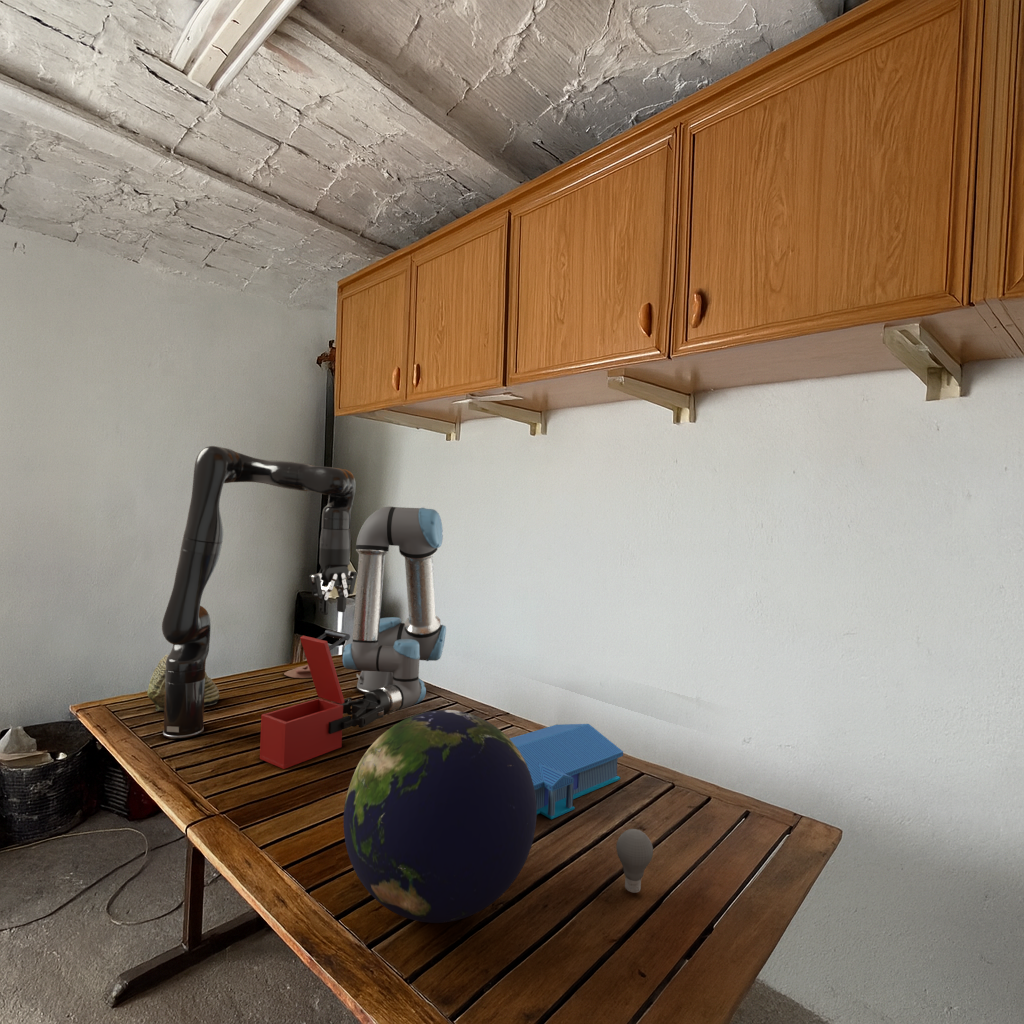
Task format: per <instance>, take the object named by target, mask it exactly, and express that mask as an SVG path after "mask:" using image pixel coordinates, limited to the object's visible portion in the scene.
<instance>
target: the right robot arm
mask: <svg viewBox="0 0 1024 1024" xmlns="http://www.w3.org/2000/svg"><path fill="white" fill-rule="evenodd" d="M443 531H444V530H443V523H442V519H441V515H440V513H439V512H438V511H437V510H436V509H434V508H433V509H432V508H426V507H401V506H400V507H399V506H383V507H381V508H378V509H376V510H375V511H373V512H372V513H371V514H370V515H369V516H368V517H367V518H366V519H365V521H364V522H363V524H362V526H361V528H360V530H359V532H358V535H357V538H356V544H355V552H356V553H357V554H358V563H357V564H358V565H357V578H356V587H355V590H356V591H355V602H354V612H353V613H354V615H353V625H352V626H353V628H352V642H351V643H347V644H346V645H344V648H343V653H342V666H343V667H344V668H345V669H346V670H351V671H358V672H360V674H358V673H356V678H358V680H357V683H356V691H357V692H358V693H360V694H363V697H362V698H357V699H354V700H353V698H352V697H351V696H349V697H346V698H344V701H345V702H344V703H343V704H340V703H337V704H340V705H343V715H345V714H347V716H343V718H340V719H337V720H334V721H332V722H329V734H332V733H334V732H337V731H340V730H342V731H344V730H346V729H348V728H351V727H352V728H354V727H355V728H356V727H358V728H359V729H363V728H364V727H367V726H368V725H370V724H371V723H373V722H375V721H377V720H378V719H382V718H384V716H386V715H387V716H389V715H390V714H391V713H394V712H397V711H400V710H402V709H406V708H410V707H413V706H415V705H418V704H419V703H421V702H422V701H423V700H424V699H425V698H426V694H427V687H426V685H425V682H424V681H423V679H422V678H419V676H420V674H419V673H420V661H426V662H430V661H439V660H441V657H442V655H443V651H444V646H445V640H446V634H447V626H446V625H444V624H441V623H442V622H441V619H440V618H439V616H437V615H436V596H435V574H434V573H435V572H434V555H435V554H436V553H438V548H440V547H442V544H443V539H444V538H443V536H444V535H443ZM390 546H393V547H395V546H396V547H398V552H399V554H400V555H401V556H402V557H404V566H405V579H406V581H405V582H406V583H405V584H406V596H407V612H408V617H407V618H406V619H405V621H404V622H402V619H401V617H395V616H393V617H390V616H389V617H381V612H382V611H381V610H382V600H383V599H382V597H383V595H382V594H383V586H384V585H383V583H384V571H385V559H386V556H387V554H389V550H390V549H389V548H390ZM331 702H333V701H331ZM333 703H336V702H333Z"/></svg>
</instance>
